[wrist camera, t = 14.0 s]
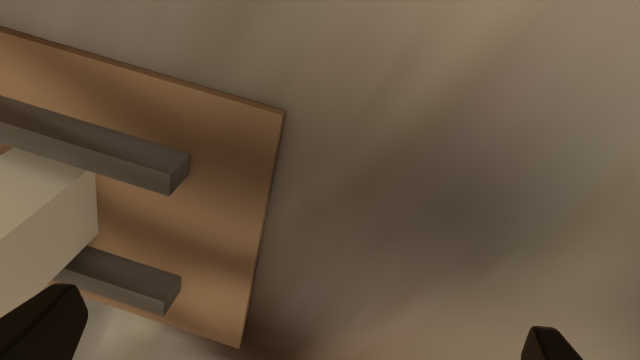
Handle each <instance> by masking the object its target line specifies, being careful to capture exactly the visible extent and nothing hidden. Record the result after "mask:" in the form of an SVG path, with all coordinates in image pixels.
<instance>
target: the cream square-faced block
mask: <svg viewBox="0 0 640 360" xmlns="http://www.w3.org/2000/svg"><path fill="white" fill-rule="evenodd" d="M97 234H98V219H97V199H96V179H95V173H93V172H90V171H87V170H84V169H80V168H77V167H74V166H71V165H68V164H65V163H61V162H58V161H55V160H52V159H49V158H45V157H42V156H39V155H36V154H33V153H30V152H26V151H23V150H20V149H17V148H12V149H10V150H9V151H7V152H5V153H4V154H2V155H0V318H1V317H2V316H4V315H5V314H7V313H9V312H10V311H12V310H13V309H15V308H16V307H18V306H19V305H21V304H23V303H24V302H26V301H27V300H29V299H30V298H32V297H33V296H35V295H36V294H38V293H39V292H40V291H41V290H42V289H43V288H44V287H45V286H46V285H47V284H48V283H49V282H50V281H51V280H52V279H53V278H54V277H55V276H56V275H57V274H58V273H59V272H60V271H61V270H62V269H63V268H64V267H65V266H66V265H67V264H68V263H69V262H70V261H71V260H72V259H73V258H74V257H75V256H76V255H77V254H78V253H79V252H80V251H81V250H82V249H83V248H84V247H85V246H86V245H87V244H88V243H89V242H90V241H91V240H92V239H93V238H94V237H95V236H96V235H97Z"/></svg>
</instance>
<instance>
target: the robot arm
mask: <svg viewBox="0 0 640 360" xmlns="http://www.w3.org/2000/svg"><path fill="white" fill-rule="evenodd" d="M87 319H88V310H87V307H86V305H85V303H84V300H83V298H82V296H81V293H80V291H79V289H78V287H77V286H76V285H74V284H67V283H55V284H52V285H51V286H49V287H47V288H46V289H44V290H43V291H41V292H40V293H38V294H36V295H35V296H33V297H32V298H30V299H29V300H27V301H26V302H24V303H23V304H21V305H19V306H18V307H16V308H15V309H13V310H12V311H10V312H9V313H7V314H5V315H4V316H2V317H1V318H0V360H72V358H73V356H74V353H75V351H76V348H77V346H78V343H79V341H80V338H81V335H82V333H83V330H84V328H85V325H86V323H87ZM521 360H583V359H582V358H581V357H580V355H579V354H578V353H577V352H576V351H575V350H574V348H573V347H572V346H571V345H570V344H569V343H568V341H567V340H566V339H565V338H564V337H563V336H562V334H561V333H560V332H559V331H558V330H557V329H555V328H552V327H543V326H533V327H531V329H530V330H529V333H528V336H527V339H526V342H525V344H524V347H523V350H522V354H521Z"/></svg>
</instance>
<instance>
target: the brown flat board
mask: <svg viewBox="0 0 640 360" xmlns="http://www.w3.org/2000/svg"><path fill="white" fill-rule="evenodd" d="M285 113H286V111H284V110H281V109H278V108H274V107H271V106H267V105H264V104H261V103H257V102H254V101H251V100H247V99H244V98H240V97H237V96H234V95H230V94H227V93H223V92H220V91H217V90H213V89H210V88H207V87H203V86H200V85H196V84H193V83H190V82H186V81H183V80H180V79H176V78H173V77H169V76H166V75H163V74H159V73H156V72H153V71H149V70H146V69H142V68H139V67H136V66H132V65H129V64H125V63H122V62H119V61H115V60H112V59H109V58H105V57H102V56H98V55H95V54H92V53H88V52H85V51H82V50H78V49H75V48H71V47H68V46H65V45H61V44H58V43H55V42H51V41H48V40H44V39H41V38H38V37H34V36H31V35H27V34H24V33H21V32H17V31H14V30H11V29H7V28H4V27H0V155H2V154H4V153H5V152H7V151H9V150H10V149H12V148H17V149H20V150H23V151H26V152H30V153H33V154H36V155H39V156H42V157H45V158H49V159H52V160H55V161H58V162H61V163H65V164H68V165H71V166H74V167H77V168H80V169H84V170H87V171H90V172H93V173H95V179H96V199H97V219H98V234H97V235H96V236H95V237H94V238H93V239H92V240H91V241H90V242H89V243H88V244H87V245H86V246H85V247H84V248H83V249H82V250H81V251H80V252H79V253H78V254H77V255H76V256H75V257H74V258H73V259H72V260H71V261H70V262H69V263H68V264H67V265H66V266H65V267H64V268H63V269H62V270H61V271H60V272H59V273H58V274H57V275H56V276H55V277H54V278H53V279H52V280H51V281H50V282H49V283H48V284H47V285H50V286H51V285H52V284H55V283H67V284H74V285H76V286H77V287H78V289H79V291H80V293H81V296H83V297H86V298H89V299H92V300H95V301H98V302H101V303H104V304H107V305H110V306H113V307H116V308H119V309H122V310H125V311H128V312H131V313H134V314H137V315H140V316H143V317H146V318H149V319H152V320H155V321H158V322H161V323H164V324H167V325H170V326H173V327H176V328H179V329H182V330H185V331H188V332H191V333H194V334H197V335H199V336H202V337H205V338H208V339H211V340H214V341H217V342H220V343H223V344H226V345H229V346H232V347H235V348H238V349H239V348H240V346H241V344H242V340H243V335H244V329H245V324H246V319H247V314H248V308H249V303H250V298H251V293H252V287H253V282H254V277H255V271H256V266H257V261H258V256H259V250H260V245H261V240H262V234H263V229H264V224H265V219H266V213H267V208H268V203H269V198H270V192H271V187H272V182H273V176H274V171H275V166H276V161H277V155H278V150H279V145H280V139H281V134H282V129H283V124H284V118H285Z"/></svg>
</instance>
